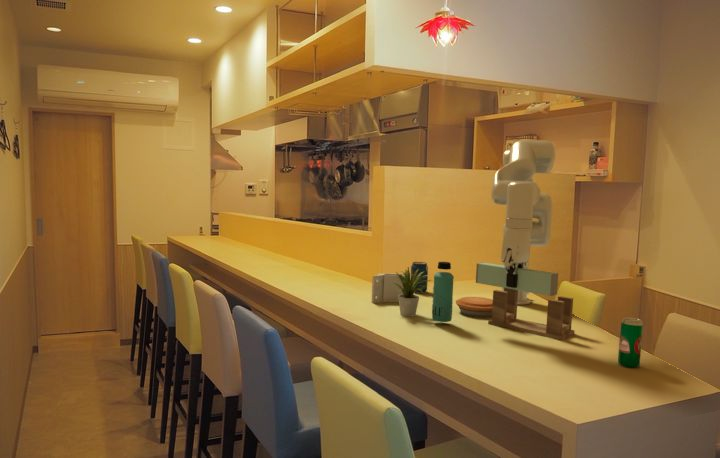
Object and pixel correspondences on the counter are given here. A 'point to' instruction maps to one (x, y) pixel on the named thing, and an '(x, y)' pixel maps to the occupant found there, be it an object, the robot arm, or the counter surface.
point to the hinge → (386, 288)
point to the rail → (526, 279)
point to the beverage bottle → (443, 294)
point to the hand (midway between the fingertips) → (514, 285)
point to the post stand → (506, 317)
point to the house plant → (409, 292)
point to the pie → (475, 306)
